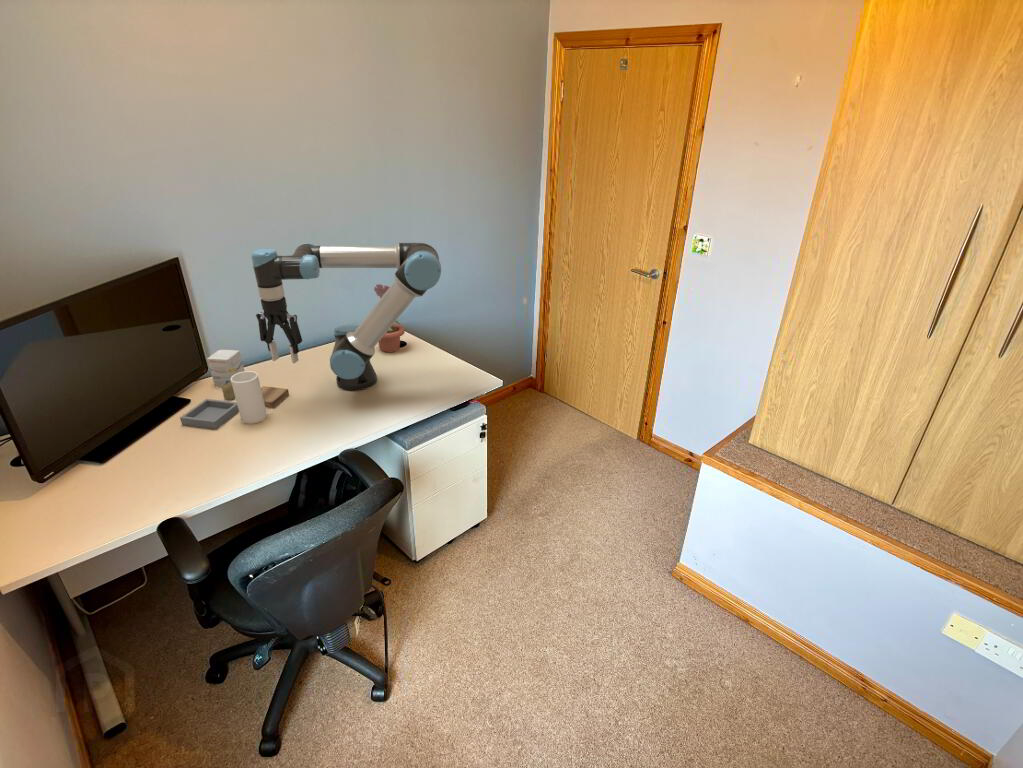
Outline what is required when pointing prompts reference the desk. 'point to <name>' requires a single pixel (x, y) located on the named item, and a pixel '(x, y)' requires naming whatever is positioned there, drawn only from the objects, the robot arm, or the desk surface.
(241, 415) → the cup
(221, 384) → the ink box
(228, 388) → the bench dog
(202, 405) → the tray
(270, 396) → the brown wooden square block
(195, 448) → the desk surface
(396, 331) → the decorative flower
